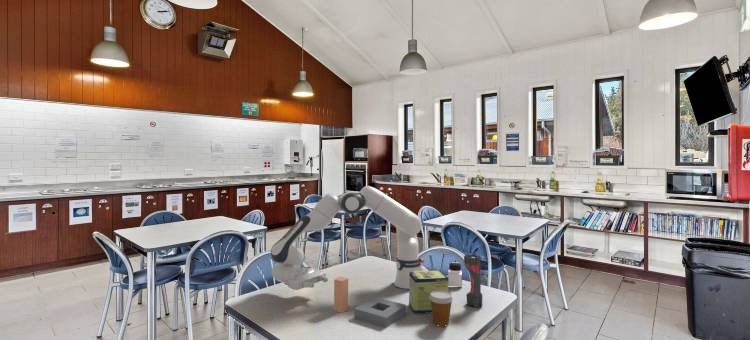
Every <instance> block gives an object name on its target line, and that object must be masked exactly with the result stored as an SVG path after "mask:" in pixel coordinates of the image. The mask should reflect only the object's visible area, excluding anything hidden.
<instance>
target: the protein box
mask: <svg viewBox="0 0 750 340" xmlns="http://www.w3.org/2000/svg"><path fill="white" fill-rule="evenodd" d="M448 279H449V278H448V275H446V274H445V273H444V272H443V271H442V270H429V271H420V272H410V275H409V289H408V290H409V291H408V306H409V305H410V306H409V307H410V309H411V311H412V312H413V314H414V313H421V314H427V313H426V312H432V309H431V300H430V298H429V296H430V294H431V292H434V291H446V292H449V287H448Z"/></svg>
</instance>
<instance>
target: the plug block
mask: <svg viewBox="0 0 750 340" xmlns="http://www.w3.org/2000/svg"><path fill="white" fill-rule="evenodd" d="M333 283H334V284H333V291H334V292H333V297H334V299H333V311H334V312H339V313H341V314H342V313H344V312H346V311H348V310H349V278H347V277H344V276H338V277H337V278H334V280H333Z"/></svg>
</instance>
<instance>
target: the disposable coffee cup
mask: <svg viewBox="0 0 750 340" xmlns="http://www.w3.org/2000/svg"><path fill="white" fill-rule="evenodd" d="M429 298H430V300H431V309H432V313H431V315H432V317H431V318H432V324H433V323H434V324H435V325H434V324H433V325H434V326H436V325H439V326H438V327H440V326H445V325H448V326H449V324H450V322H449V321H450V316H451V309H452V303H453V300H454V298H453V295H452V293H450V292H449V291H448V292H446V291H434V292H431V294H430V296H429ZM448 323H449V324H448ZM445 327H446V326H445Z"/></svg>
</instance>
